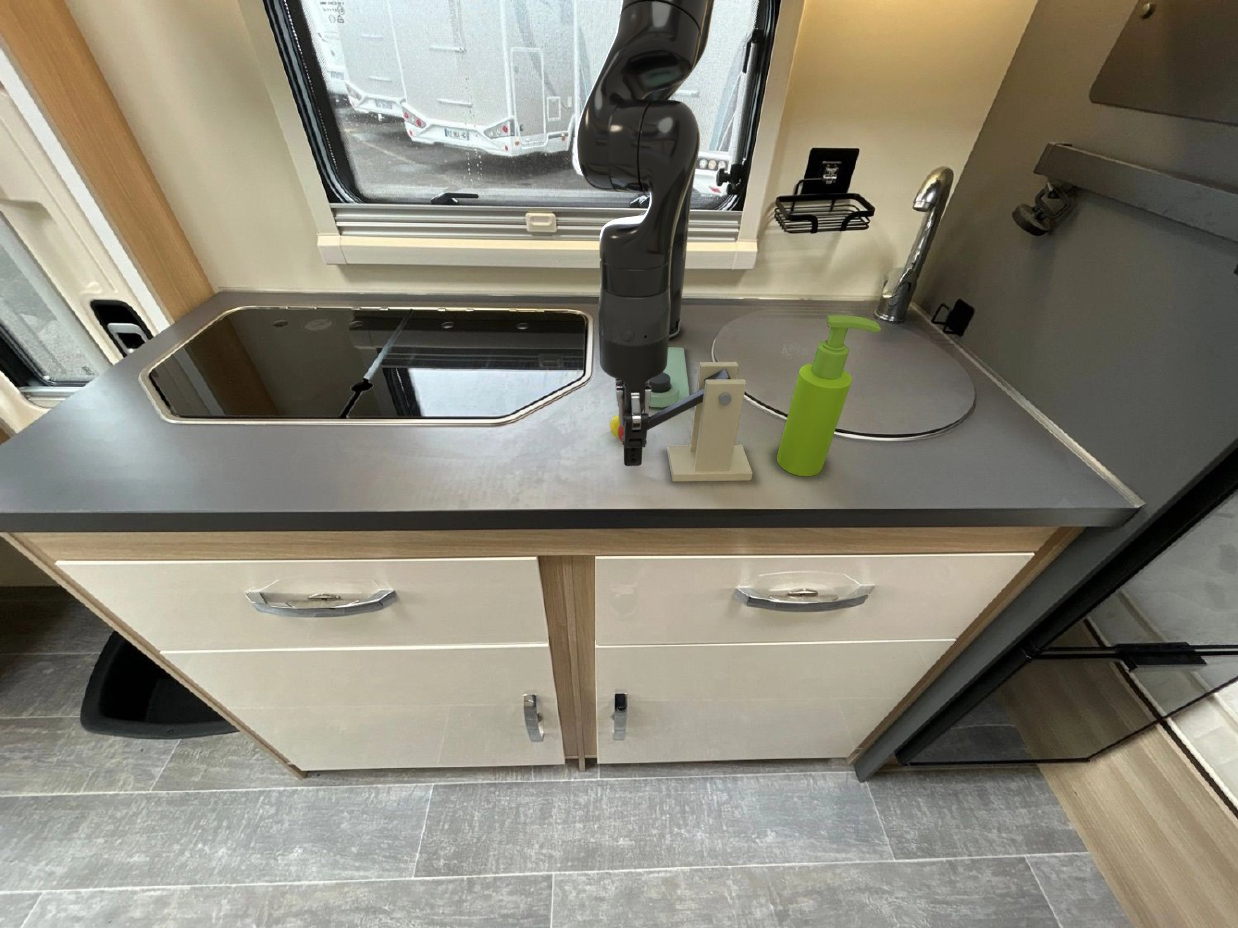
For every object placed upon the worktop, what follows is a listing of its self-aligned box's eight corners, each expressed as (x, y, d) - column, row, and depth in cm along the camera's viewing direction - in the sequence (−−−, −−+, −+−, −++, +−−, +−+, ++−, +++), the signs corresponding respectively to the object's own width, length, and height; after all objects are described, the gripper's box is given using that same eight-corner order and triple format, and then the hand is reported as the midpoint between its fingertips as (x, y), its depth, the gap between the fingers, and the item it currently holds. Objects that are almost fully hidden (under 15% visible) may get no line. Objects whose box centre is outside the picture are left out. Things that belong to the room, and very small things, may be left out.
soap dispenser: (833, 480, 66) (886, 333, 54) (777, 472, 67) (816, 326, 55) (828, 452, 71) (876, 311, 58) (776, 446, 72) (812, 305, 59)
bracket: (672, 481, 66) (682, 386, 57) (667, 452, 70) (675, 360, 62) (751, 480, 66) (772, 385, 57) (740, 451, 71) (759, 359, 62)
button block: (627, 349, 94) (627, 336, 92) (683, 351, 93) (684, 338, 92) (623, 410, 78) (624, 395, 77) (690, 412, 78) (692, 398, 77)
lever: (627, 455, 65) (612, 437, 63) (626, 439, 67) (612, 421, 65) (740, 399, 60) (728, 377, 58) (734, 383, 63) (722, 362, 61)
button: (645, 381, 81) (646, 371, 80) (669, 381, 81) (670, 371, 80) (645, 393, 78) (646, 383, 77) (670, 394, 78) (671, 383, 77)
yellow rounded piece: (613, 445, 71) (606, 421, 70) (616, 431, 77) (610, 408, 76) (637, 439, 71) (630, 415, 70) (639, 425, 76) (632, 402, 75)
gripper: (677, 357, 50) (667, 490, 61) (662, 300, 61) (655, 422, 72) (599, 359, 50) (603, 492, 61) (598, 301, 61) (601, 423, 72)
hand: (631, 453), depth 67 cm, fingers closed on lever, 3 cm apart
